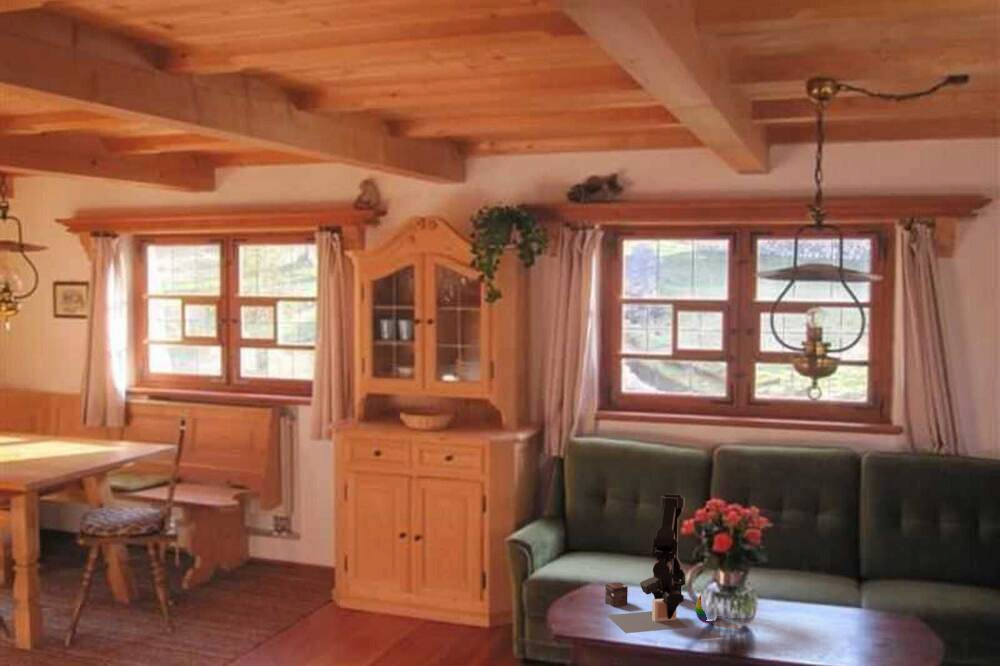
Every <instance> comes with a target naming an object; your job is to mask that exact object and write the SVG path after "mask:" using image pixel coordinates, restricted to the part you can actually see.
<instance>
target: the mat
mask: <svg viewBox="0 0 1000 666" xmlns="http://www.w3.org/2000/svg"><path fill="white" fill-rule="evenodd" d="M606 616H607V618H609V620H611V621H612V623H614V624H615V625H616V626H617V627H618V628H619V629H620V630H622V632H624V633H625V634H631V633H641V632H643V633H645V632H652V631H654V632H655V631H663V630H676V629H685V628H689V626H688V625H687V624H686V623H684V622H683V621H682V620H680V619H679V618H678V617H676V620H669V621H658V622H655V621H654V620H652V611H651V610H650V611H640V612H639V611H638V612H630V613H629V612H627V613H615V614H606Z"/></svg>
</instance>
